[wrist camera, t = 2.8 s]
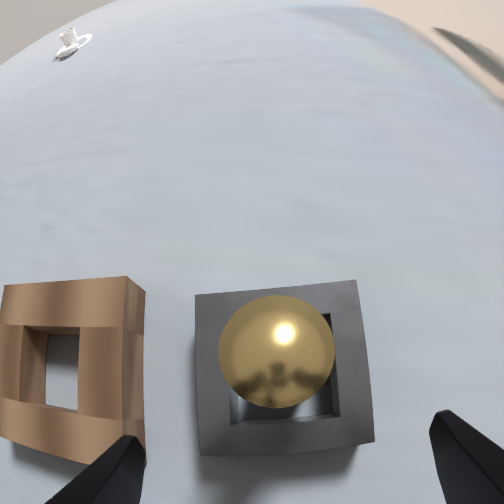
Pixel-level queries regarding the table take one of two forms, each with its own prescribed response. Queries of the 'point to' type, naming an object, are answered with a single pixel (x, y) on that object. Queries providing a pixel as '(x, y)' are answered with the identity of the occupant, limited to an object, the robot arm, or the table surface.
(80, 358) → the wooden square frame
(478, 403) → the table surface
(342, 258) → the table surface
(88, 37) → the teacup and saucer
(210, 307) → the socket block
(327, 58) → the table surface
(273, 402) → the brass cylinder
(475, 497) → the robot arm
